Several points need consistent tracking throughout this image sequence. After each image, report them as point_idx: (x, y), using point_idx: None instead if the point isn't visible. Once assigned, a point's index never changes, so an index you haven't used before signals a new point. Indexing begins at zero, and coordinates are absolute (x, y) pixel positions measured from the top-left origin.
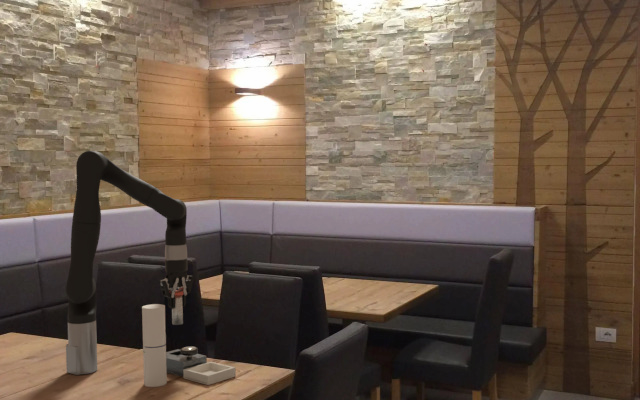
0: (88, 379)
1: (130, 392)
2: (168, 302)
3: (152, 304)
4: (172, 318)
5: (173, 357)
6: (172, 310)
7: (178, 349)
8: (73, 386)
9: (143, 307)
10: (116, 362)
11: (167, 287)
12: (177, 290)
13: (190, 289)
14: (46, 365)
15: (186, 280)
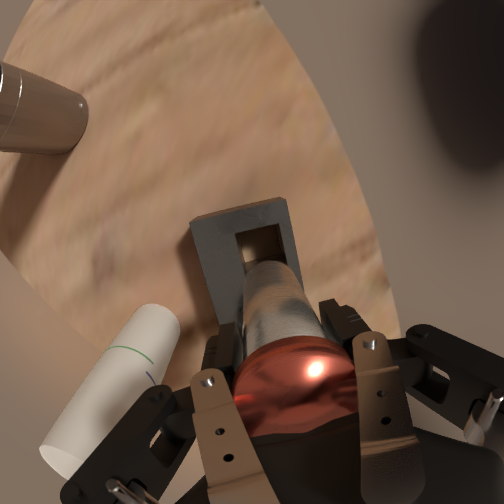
0: (52, 198)
1: (101, 341)
2: (205, 360)
3: (73, 457)
4: (243, 295)
5: (225, 287)
6: (243, 320)
7: (285, 204)
8: (27, 230)
9: (46, 459)
10: (146, 83)
11: (160, 491)
12: (338, 371)
13: (431, 385)
14: (44, 48)
15: (470, 423)
